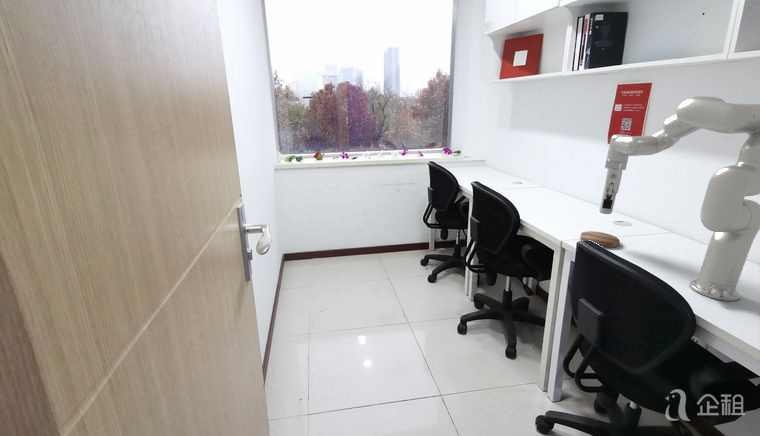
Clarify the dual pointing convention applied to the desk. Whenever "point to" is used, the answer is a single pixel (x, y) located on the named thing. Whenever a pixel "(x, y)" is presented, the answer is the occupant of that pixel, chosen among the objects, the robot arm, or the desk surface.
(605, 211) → the beverage can
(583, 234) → the walnut board
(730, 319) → the desk surface
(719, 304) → the desk surface
